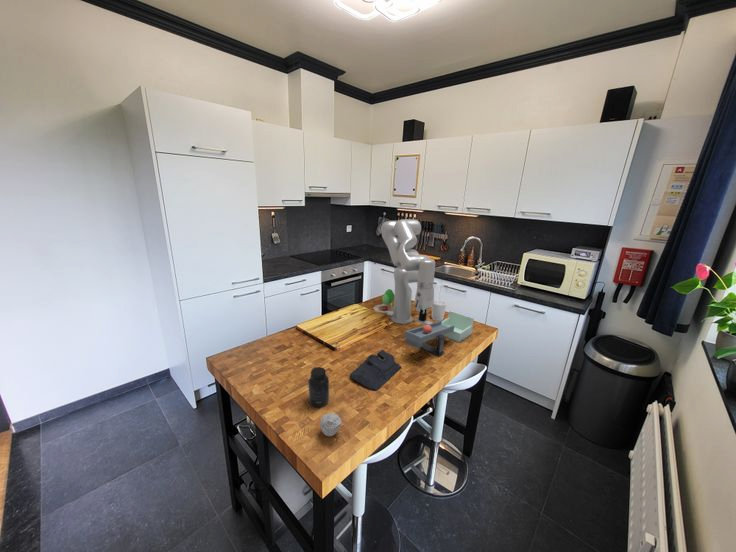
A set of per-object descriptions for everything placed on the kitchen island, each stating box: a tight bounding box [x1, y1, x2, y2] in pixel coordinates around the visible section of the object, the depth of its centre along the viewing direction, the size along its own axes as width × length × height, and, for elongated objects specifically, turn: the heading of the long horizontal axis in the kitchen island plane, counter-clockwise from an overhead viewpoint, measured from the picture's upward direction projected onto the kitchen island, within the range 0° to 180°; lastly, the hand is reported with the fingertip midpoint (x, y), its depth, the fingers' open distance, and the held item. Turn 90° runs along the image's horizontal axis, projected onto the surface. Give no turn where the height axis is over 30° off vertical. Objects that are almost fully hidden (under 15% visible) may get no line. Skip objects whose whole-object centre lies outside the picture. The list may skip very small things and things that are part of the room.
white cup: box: [431, 299, 447, 322], centre depth 166 cm, size 8×8×10 cm
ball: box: [423, 324, 432, 334], centre depth 128 cm, size 4×4×4 cm
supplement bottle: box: [307, 366, 330, 408], centre depth 97 cm, size 7×7×12 cm
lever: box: [403, 317, 455, 349], centre depth 134 cm, size 16×30×5 cm, turn 136°
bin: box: [441, 310, 475, 344], centre depth 148 cm, size 14×14×9 cm
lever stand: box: [419, 335, 445, 358], centre depth 132 cm, size 13×5×9 cm, turn 46°
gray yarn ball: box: [319, 413, 342, 437], centre depth 85 cm, size 6×7×7 cm
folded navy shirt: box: [349, 349, 403, 392], centre depth 116 cm, size 15×22×5 cm
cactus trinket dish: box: [373, 289, 395, 314], centre depth 178 cm, size 15×14×14 cm
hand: (422, 320), depth 141 cm, fingers closed
